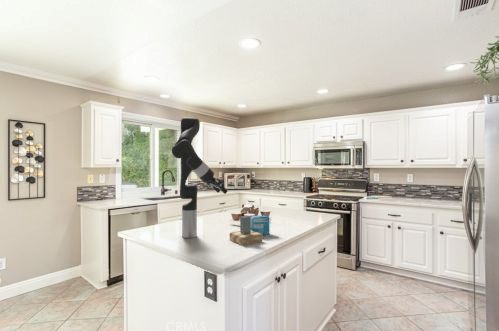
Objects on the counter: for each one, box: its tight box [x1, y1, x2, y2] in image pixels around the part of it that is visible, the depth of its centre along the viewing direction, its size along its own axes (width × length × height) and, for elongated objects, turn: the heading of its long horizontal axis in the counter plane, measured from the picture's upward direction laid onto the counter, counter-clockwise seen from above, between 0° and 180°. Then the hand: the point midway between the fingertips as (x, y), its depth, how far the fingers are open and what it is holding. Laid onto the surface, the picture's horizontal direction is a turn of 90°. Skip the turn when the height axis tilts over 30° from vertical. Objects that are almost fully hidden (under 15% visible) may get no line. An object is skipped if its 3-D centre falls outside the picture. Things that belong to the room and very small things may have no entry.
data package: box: [250, 215, 270, 236], centre depth 176 cm, size 12×4×12 cm, turn 108°
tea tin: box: [239, 215, 251, 235], centre depth 160 cm, size 4×4×10 cm
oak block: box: [229, 230, 263, 247], centre depth 161 cm, size 14×14×5 cm
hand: (222, 192), depth 148 cm, fingers open, 8 cm apart
